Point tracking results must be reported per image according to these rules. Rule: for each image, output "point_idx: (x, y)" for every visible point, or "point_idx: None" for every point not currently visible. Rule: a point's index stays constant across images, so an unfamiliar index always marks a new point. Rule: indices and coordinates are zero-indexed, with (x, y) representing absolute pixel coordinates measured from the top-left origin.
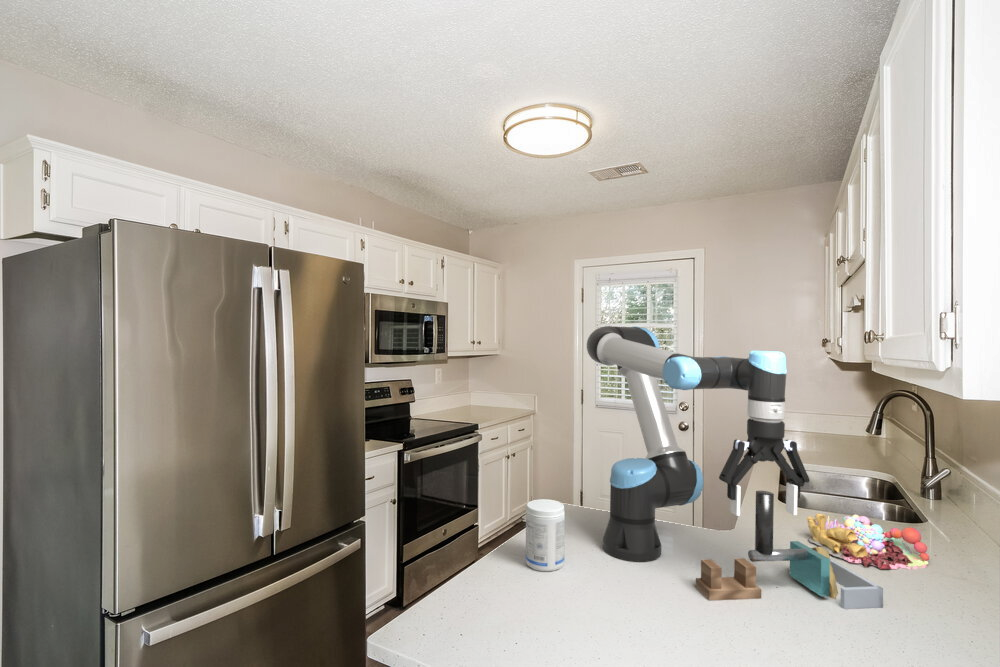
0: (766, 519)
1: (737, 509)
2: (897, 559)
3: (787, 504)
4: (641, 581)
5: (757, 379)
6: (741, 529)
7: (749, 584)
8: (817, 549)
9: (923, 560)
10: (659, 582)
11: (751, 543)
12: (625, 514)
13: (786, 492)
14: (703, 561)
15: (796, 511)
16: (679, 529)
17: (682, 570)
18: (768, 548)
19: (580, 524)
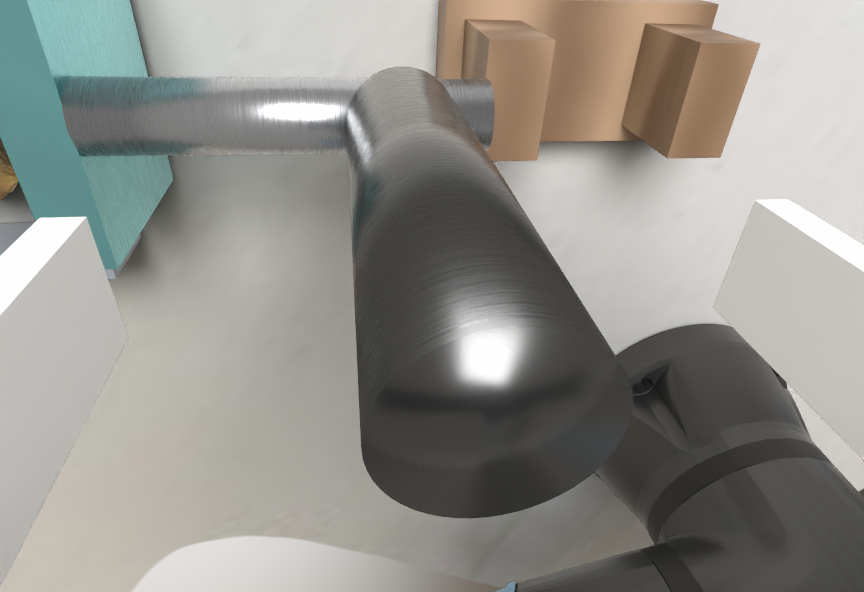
0: (472, 162)
1: (833, 230)
2: None
3: (89, 374)
4: (818, 186)
5: None
6: (168, 551)
7: (504, 22)
8: None
9: None
10: (762, 175)
11: (186, 463)
12: (847, 480)
13: (29, 525)
14: (726, 135)
15: (25, 239)
16: (405, 532)
17: (604, 264)
18: (413, 76)
19: None
